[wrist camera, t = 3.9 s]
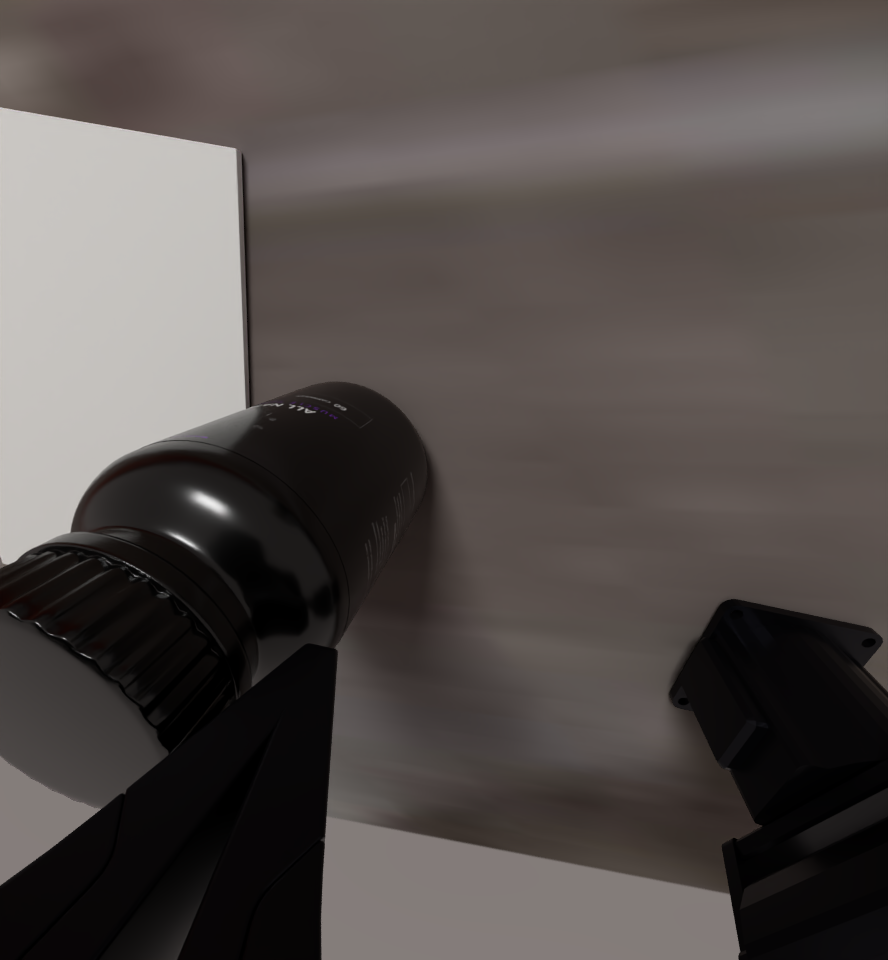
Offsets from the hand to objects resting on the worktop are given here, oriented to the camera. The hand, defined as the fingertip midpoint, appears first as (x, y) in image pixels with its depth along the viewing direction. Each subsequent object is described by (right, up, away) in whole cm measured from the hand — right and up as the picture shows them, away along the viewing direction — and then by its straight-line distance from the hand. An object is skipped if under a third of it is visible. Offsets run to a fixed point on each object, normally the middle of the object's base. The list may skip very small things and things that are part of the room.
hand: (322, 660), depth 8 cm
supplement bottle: (-1, +4, +9) cm, 10 cm away
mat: (-13, +7, +10) cm, 17 cm away
